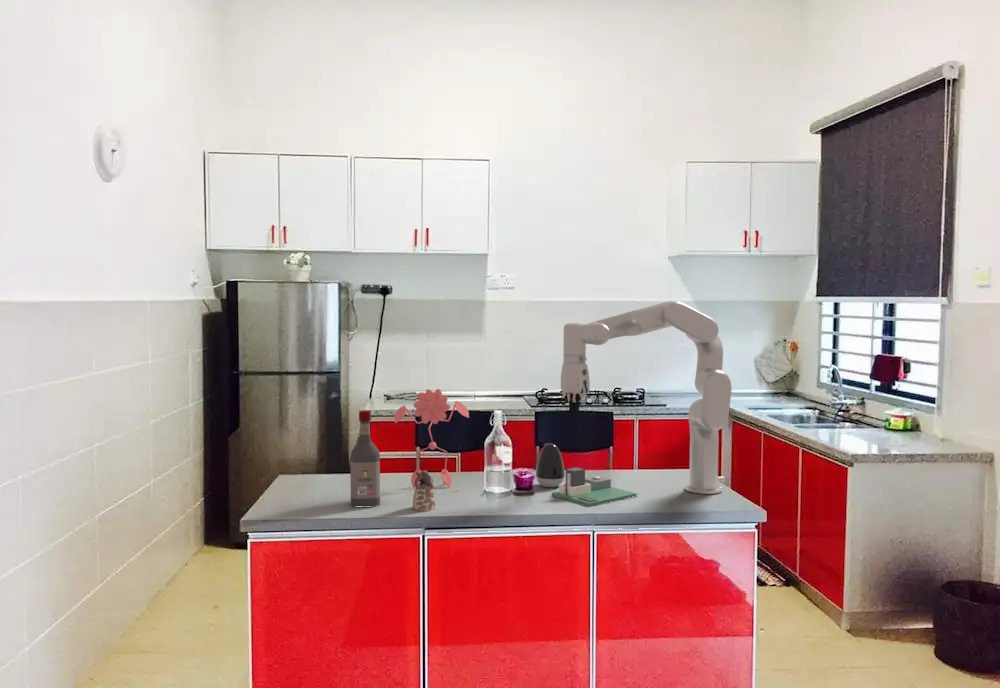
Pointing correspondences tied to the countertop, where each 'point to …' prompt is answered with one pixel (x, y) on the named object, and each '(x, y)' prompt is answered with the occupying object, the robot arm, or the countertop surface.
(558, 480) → the dark egg-shaped speaker
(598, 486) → the grey flat block
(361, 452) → the liquor
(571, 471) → the plug
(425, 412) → the figurine
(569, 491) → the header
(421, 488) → the figurine
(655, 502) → the countertop surface
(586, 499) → the board
